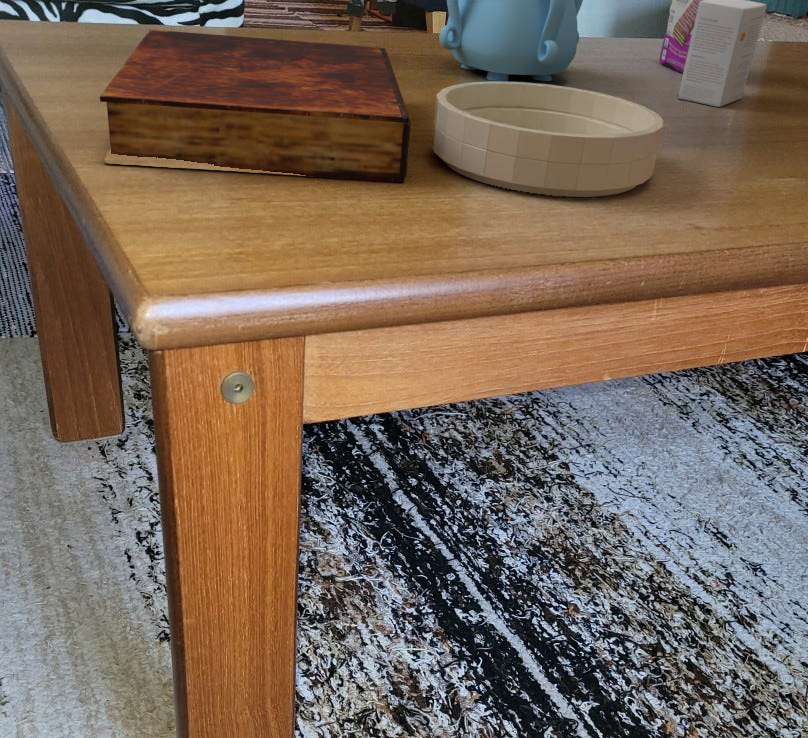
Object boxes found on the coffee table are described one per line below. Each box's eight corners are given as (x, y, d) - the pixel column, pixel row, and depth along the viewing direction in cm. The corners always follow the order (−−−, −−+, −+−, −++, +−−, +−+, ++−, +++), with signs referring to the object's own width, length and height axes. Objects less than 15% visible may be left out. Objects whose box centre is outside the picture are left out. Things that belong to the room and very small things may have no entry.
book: (406, 183, 81) (411, 118, 78) (104, 164, 78) (97, 96, 75) (383, 99, 104) (386, 47, 102) (151, 83, 102) (148, 29, 99)
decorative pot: (588, 75, 126) (610, -48, 118) (547, 94, 114) (569, -42, 106) (471, 54, 131) (485, -65, 123) (420, 70, 119) (431, -61, 111)
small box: (700, 90, 124) (723, -5, 118) (743, 99, 121) (768, 3, 115) (675, 98, 118) (698, -1, 112) (719, 108, 116) (745, 7, 110)
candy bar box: (655, 63, 137) (685, -75, 128) (687, 64, 139) (718, -72, 129) (696, 81, 129) (731, -66, 119) (729, 82, 130) (766, -63, 121)
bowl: (652, 155, 95) (664, 100, 92) (647, 214, 79) (661, 149, 76) (453, 126, 97) (459, 72, 95) (410, 178, 82) (415, 114, 79)
